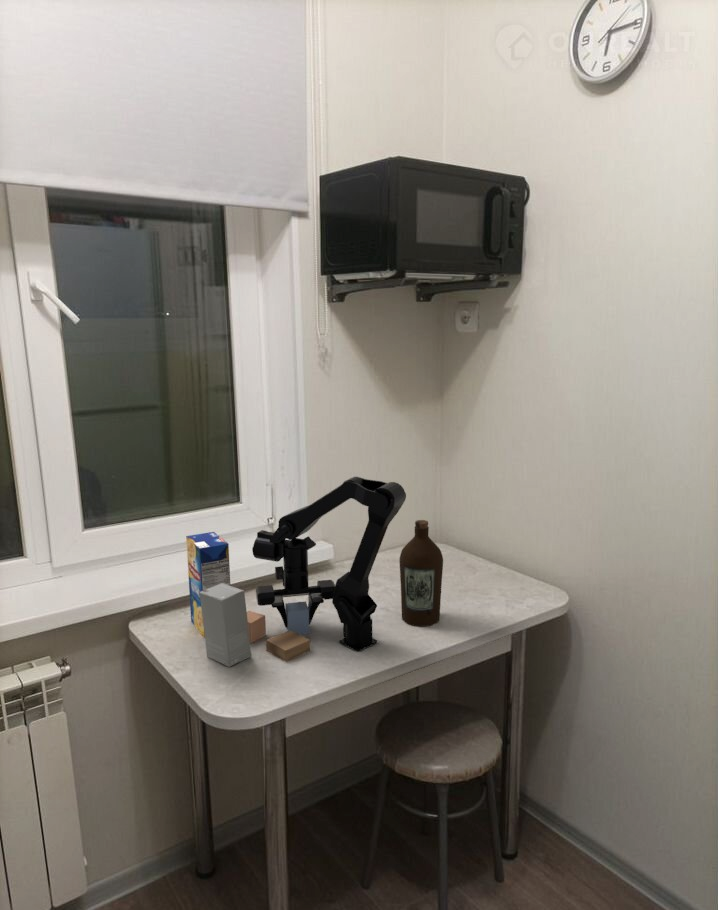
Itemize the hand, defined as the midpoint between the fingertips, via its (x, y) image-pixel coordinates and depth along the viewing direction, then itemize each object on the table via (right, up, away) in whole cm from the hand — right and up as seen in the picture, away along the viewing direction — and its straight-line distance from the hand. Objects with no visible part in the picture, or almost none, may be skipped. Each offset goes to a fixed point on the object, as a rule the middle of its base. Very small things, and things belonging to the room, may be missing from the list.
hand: (297, 625), depth 164 cm
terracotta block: (-11, -2, -3) cm, 11 cm away
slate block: (0, -1, 0) cm, 1 cm away
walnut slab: (-1, -3, -10) cm, 11 cm away
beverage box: (-21, -1, +3) cm, 21 cm away
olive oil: (+30, 0, +6) cm, 31 cm away
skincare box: (-14, -4, -13) cm, 20 cm away
